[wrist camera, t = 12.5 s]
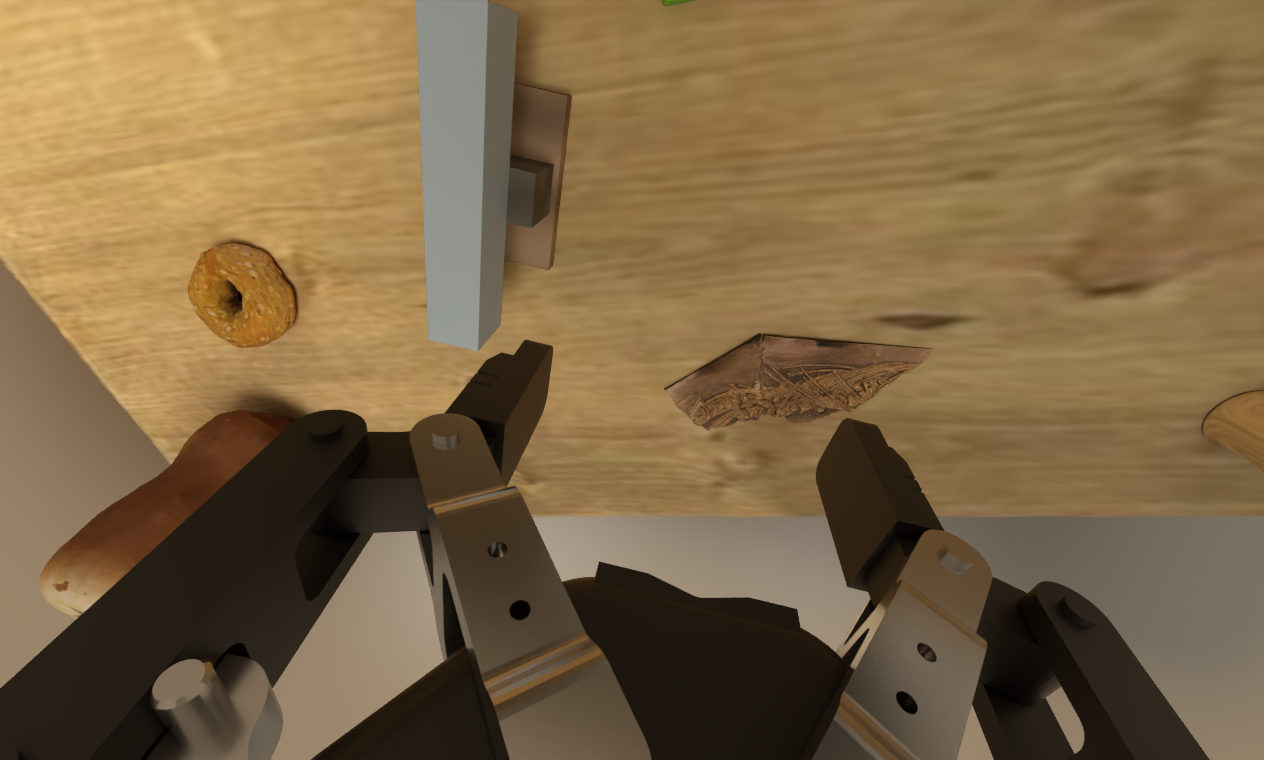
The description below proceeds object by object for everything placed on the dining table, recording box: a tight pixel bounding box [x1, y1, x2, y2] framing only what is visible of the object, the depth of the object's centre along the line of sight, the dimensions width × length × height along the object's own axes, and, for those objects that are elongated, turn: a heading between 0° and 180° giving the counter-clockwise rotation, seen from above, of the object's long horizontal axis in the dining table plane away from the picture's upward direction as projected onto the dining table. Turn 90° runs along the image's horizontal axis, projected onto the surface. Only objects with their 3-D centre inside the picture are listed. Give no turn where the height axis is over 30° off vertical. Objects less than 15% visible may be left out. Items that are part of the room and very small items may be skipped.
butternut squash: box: [40, 410, 294, 619], centre depth 50 cm, size 14×13×25 cm
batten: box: [416, 0, 518, 351], centre depth 33 cm, size 22×4×5 cm, turn 169°
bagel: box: [188, 243, 296, 348], centre depth 48 cm, size 10×11×5 cm
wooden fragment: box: [666, 335, 933, 431], centre depth 48 cm, size 26×11×1 cm, turn 102°
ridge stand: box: [504, 82, 572, 270], centre depth 38 cm, size 14×9×6 cm, turn 169°
